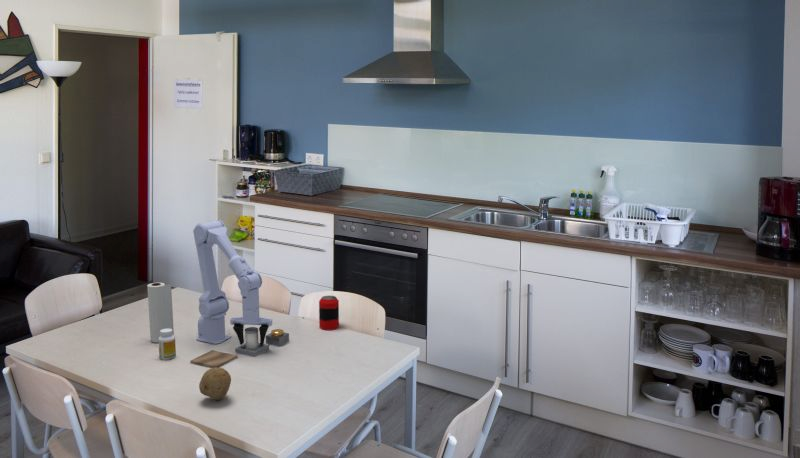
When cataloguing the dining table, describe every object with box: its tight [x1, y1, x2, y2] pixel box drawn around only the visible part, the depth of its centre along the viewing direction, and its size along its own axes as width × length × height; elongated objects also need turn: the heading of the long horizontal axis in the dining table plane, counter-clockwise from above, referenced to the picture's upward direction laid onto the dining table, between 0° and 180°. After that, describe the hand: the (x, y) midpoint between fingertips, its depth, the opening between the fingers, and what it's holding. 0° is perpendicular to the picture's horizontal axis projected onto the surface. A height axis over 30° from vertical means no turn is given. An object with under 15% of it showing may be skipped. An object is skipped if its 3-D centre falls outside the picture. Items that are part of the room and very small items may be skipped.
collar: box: [234, 342, 270, 358], centre depth 243 cm, size 8×8×2 cm
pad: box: [189, 350, 238, 369], centre depth 234 cm, size 11×11×1 cm
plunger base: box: [265, 331, 290, 347], centre depth 251 cm, size 6×6×3 cm
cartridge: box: [244, 326, 259, 351], centre depth 242 cm, size 5×5×8 cm
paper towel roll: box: [146, 282, 175, 344], centre depth 250 cm, size 7×6×21 cm
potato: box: [198, 367, 232, 401], centre depth 203 cm, size 9×9×10 cm
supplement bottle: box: [158, 329, 177, 361], centre depth 236 cm, size 5×5×10 cm
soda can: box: [318, 295, 340, 331], centre depth 268 cm, size 8×8×12 cm
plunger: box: [270, 328, 284, 336], centre depth 251 cm, size 4×4×3 cm
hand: (252, 344), depth 243 cm, fingers open, 7 cm apart
